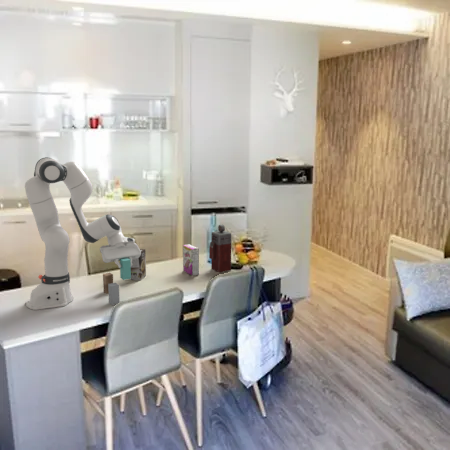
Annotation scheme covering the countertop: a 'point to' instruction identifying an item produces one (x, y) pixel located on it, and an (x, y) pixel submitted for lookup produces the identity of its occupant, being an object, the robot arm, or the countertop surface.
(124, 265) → the teal block
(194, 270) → the candy bar box
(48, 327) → the countertop surface
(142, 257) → the coffee box
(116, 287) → the slate block
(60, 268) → the robot arm
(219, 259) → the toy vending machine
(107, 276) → the walnut block
